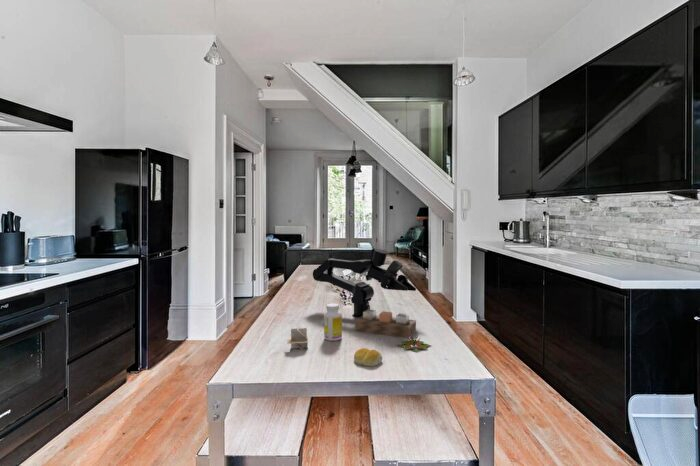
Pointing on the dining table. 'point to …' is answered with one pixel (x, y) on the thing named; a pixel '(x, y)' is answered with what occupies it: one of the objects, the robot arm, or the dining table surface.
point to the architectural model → (298, 338)
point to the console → (386, 327)
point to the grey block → (402, 319)
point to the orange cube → (385, 317)
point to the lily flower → (408, 344)
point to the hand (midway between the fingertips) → (411, 289)
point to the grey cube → (369, 314)
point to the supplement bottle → (332, 323)
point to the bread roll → (367, 357)
